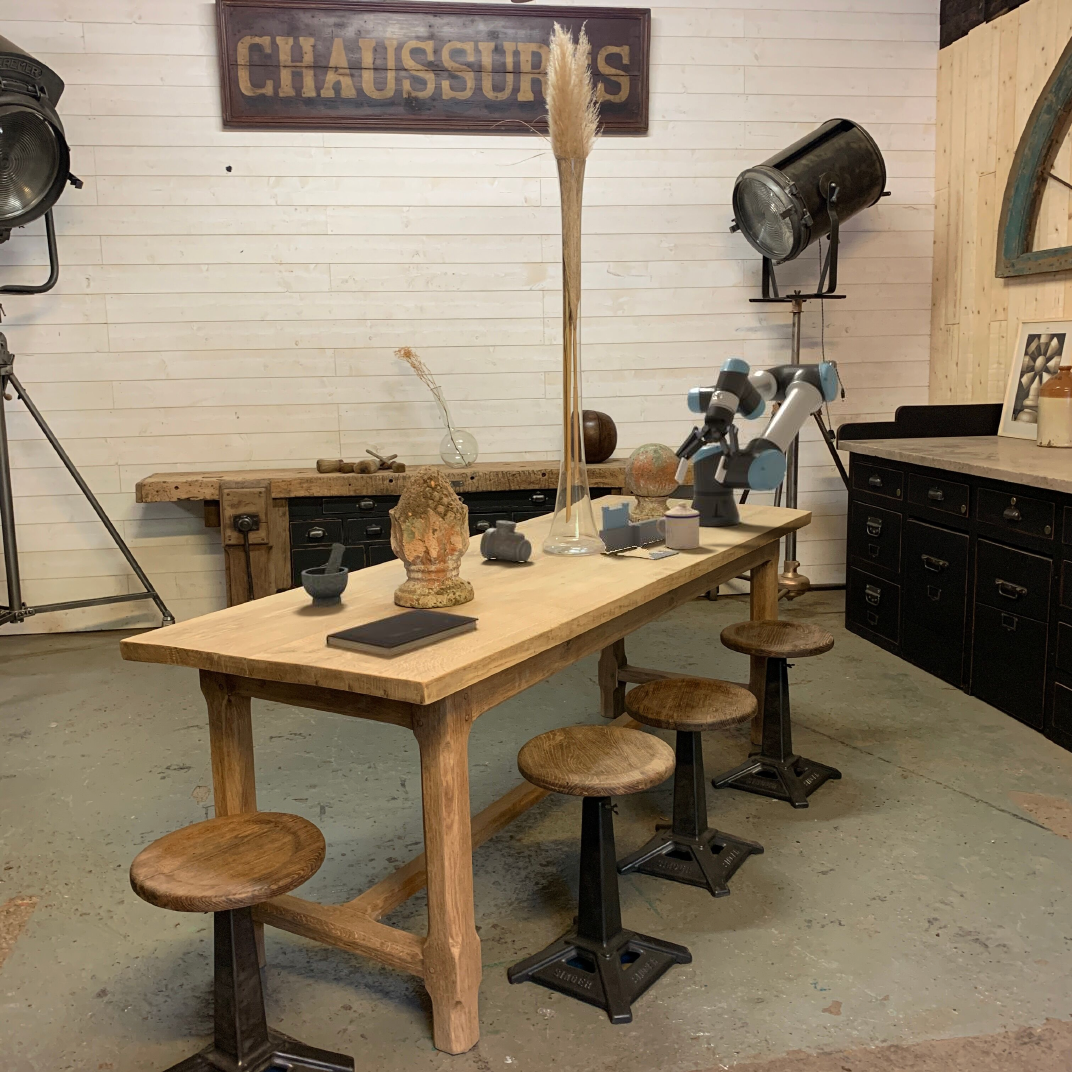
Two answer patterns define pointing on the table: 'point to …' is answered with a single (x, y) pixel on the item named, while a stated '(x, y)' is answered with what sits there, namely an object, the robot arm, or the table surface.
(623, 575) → the table surface
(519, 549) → the pipe fitting
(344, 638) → the hardcover book
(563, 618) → the table surface
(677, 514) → the teacup with lid
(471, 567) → the table surface
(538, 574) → the table surface
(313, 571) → the mortar and pestle
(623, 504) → the blue bezel
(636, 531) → the bay rack
